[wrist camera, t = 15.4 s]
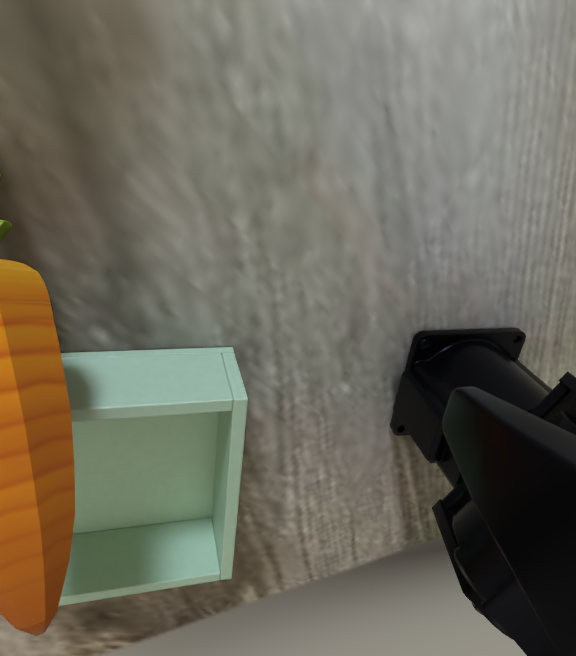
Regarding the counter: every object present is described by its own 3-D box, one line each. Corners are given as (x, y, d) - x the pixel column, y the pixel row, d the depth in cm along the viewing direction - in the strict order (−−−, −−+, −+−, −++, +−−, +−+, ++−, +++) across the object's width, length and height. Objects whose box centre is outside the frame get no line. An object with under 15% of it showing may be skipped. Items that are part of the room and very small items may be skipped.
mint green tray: (232, 346, 24) (248, 398, 20) (220, 515, 29) (232, 579, 26) (-43, 356, 21) (-79, 419, 17) (0, 543, 26) (-20, 619, 22)
